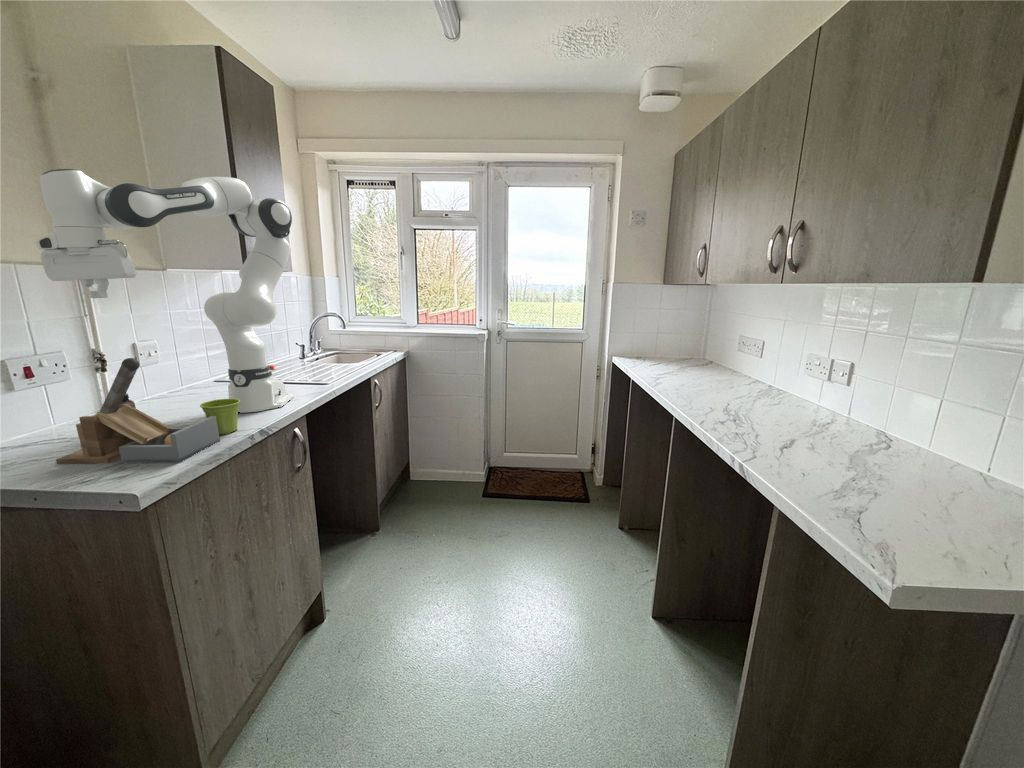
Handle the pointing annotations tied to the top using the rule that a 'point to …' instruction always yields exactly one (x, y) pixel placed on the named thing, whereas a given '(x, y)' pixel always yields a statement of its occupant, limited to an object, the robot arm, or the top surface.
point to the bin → (173, 444)
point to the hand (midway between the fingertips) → (99, 298)
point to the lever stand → (96, 443)
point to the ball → (168, 440)
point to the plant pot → (223, 413)
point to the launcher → (128, 410)
